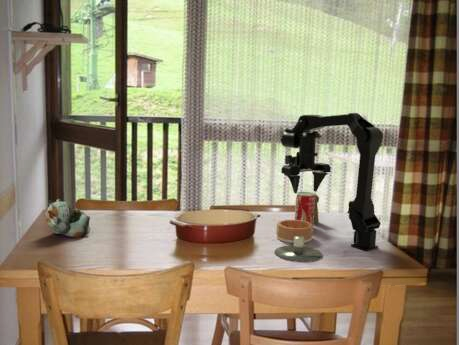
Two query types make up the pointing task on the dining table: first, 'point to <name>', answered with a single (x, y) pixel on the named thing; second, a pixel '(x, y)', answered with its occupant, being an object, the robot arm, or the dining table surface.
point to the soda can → (305, 207)
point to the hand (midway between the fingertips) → (305, 192)
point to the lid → (298, 251)
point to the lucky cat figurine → (67, 219)
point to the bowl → (294, 230)
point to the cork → (316, 210)
